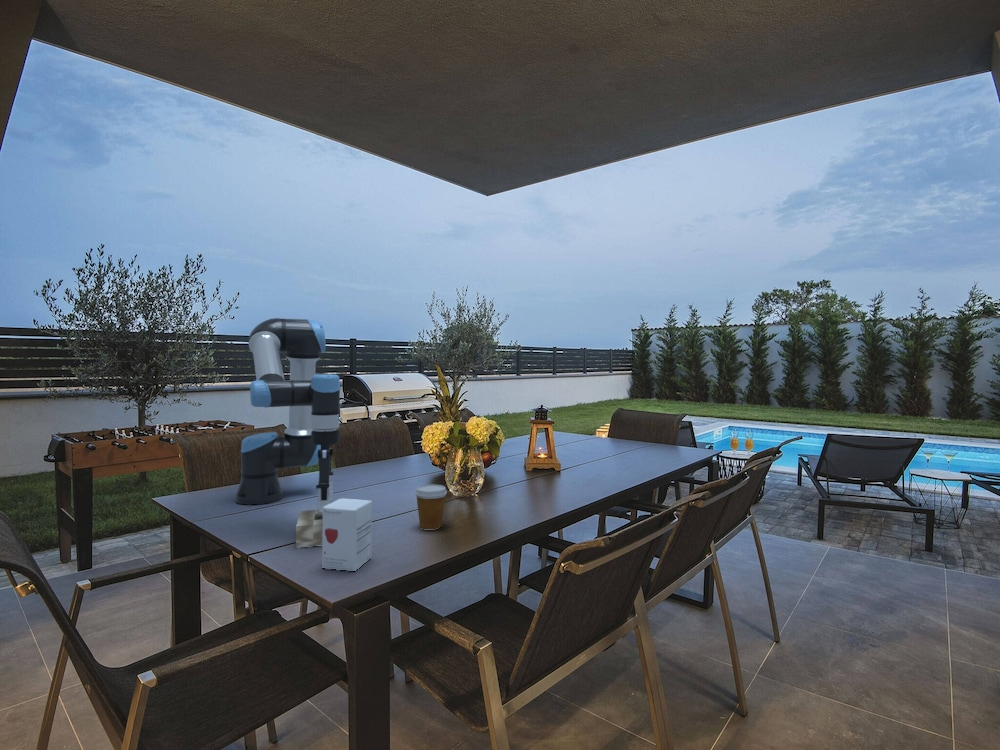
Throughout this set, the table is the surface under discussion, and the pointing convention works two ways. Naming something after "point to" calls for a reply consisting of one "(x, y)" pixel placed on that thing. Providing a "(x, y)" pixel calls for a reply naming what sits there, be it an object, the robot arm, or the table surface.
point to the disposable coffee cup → (430, 505)
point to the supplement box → (346, 534)
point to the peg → (320, 514)
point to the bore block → (309, 529)
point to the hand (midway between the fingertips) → (325, 504)
